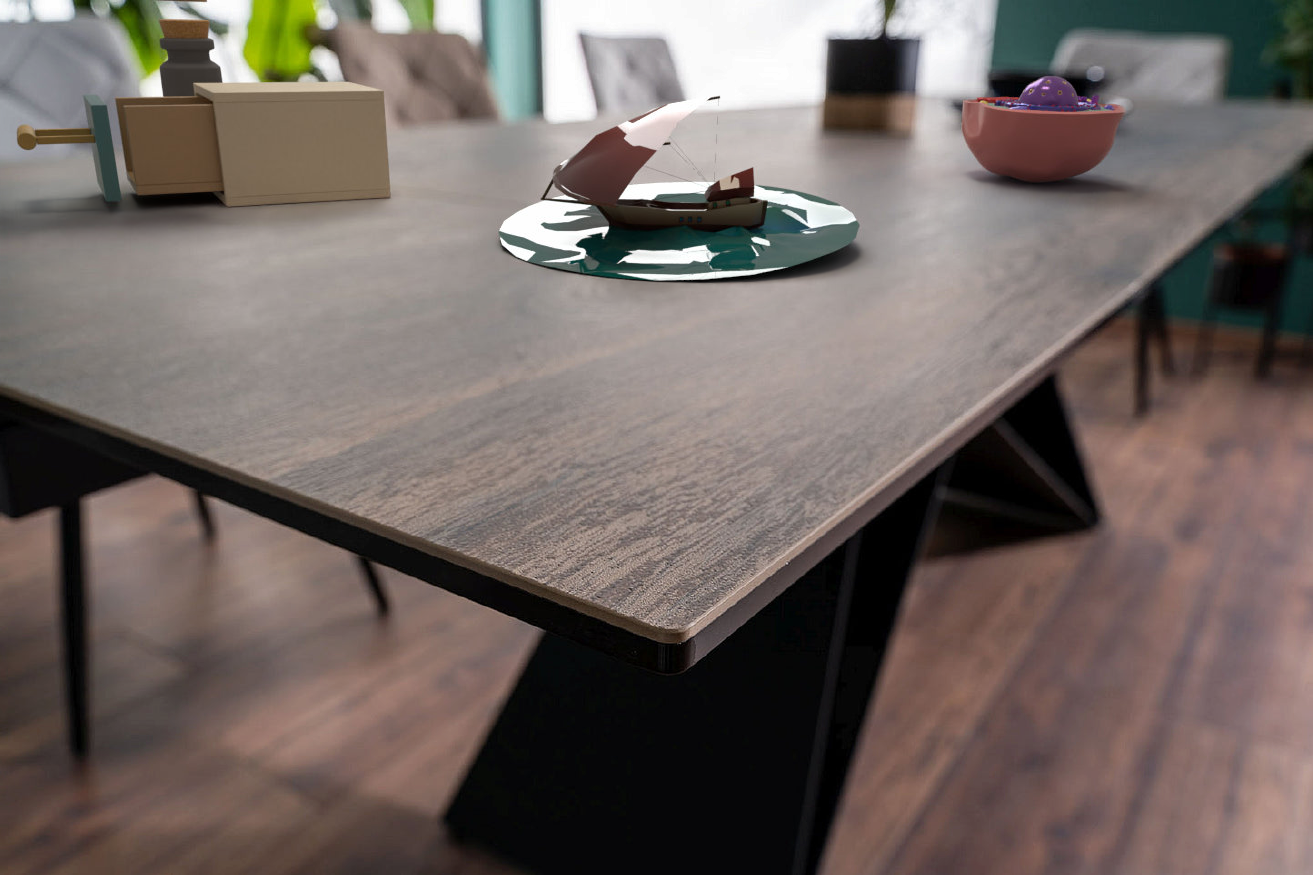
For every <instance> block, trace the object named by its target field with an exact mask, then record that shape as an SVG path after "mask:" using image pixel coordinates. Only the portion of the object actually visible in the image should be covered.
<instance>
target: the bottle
mask: <svg viewBox="0 0 1313 875" xmlns="http://www.w3.org/2000/svg"><path fill="white" fill-rule="evenodd" d="M158 23H159V25H160V29H161V31H162V34H163V37H162V38H159V47H160V49H161V50H165V51H166V54H167V60H165V61H164V62H162V63H161V64H160V65H159V75H160V76H159V77H160V84H161V91H162V97H179V96H195V94H194V87H193V83H224V81H223V75H222V74H223V73H222V69H221V66H220V65H219V64H218V63H216V62H215V61H213V60H212V59H211V55H210V52H211V51H213V50H215V41H214V40H215V39H212V38H209V32H210V20H208V19H187V18H186V19H183V18H181V19H180V18H161V19H158Z"/></svg>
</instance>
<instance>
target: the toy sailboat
mask: <svg viewBox="0 0 1313 875" xmlns="http://www.w3.org/2000/svg"><path fill="white" fill-rule="evenodd" d="M720 99H721V95H717V96H706V97H700V98H693V99H689V100H683V101H677V102H672V103H667V104H664V105H661V106H658V107H654V108H652V109H649V110H647V111H646V112H644V113H642V114H640V115H638V116H636V117H634V118H631V119H629V120H627V121H625V122H622V123H620V124H618V125H615V126H613V127H611V128H609V129H607V130H605V131H603V132H600V133H597V134H596V135H594V136H593V137H592V139H591V140H589V141H588V142H587V143H586V144H585V146H583V147H582V148H581V149H579V151H577V152H576V153H575V154H574V155H572V156H571V157H569V158H568V159H565V160H564V161H562V162H561V163H560V164H559V165H557V166H556V167H555V168H554V169H553V172H552V178H551V180H550V182H549V184H548V186H547V187H546V189H545V191H544V192H543V195H542V196H541V197H540V201H539V202H536V203H534V204H531V205H528V206H527V207H525V208H524V207H523V209H520V210H518V211H517V212H515V213H513V214H512V215H511V216H510V217H508V218H506V219H505V220H503V223H502V224H501V227H500V228H499V231H498V236H499V238H500V242H501V245H502V246H503V247H504V248H505V249H507V250H508V251H509V252H510V253H511V254H512V255H513V256H515V257H516V258H519V259H521V260H524V261H526V262H529V263H532V264H536V265H540V266H545V267H549V268H555V269H559V270H565V271H570V272H576V273H579V274H580V273H581V274H587V275H593V276H600V277H606V278H617V279H630V280H643V281H684V280H685V281H690V280H691V281H693V280H710V279H722V278H732V277H741V276H752V275H757V274H762V273H766V272H772V271H775V270H776V271H777V270H781V269H785V268H790V267H794V266H796V265H800V264H804V263H806V262H810V261H813V260H815V259H818V258H821V257H823V256H826V255H828V254H829V255H830V254H831V253H834V252H836V251H839V250H841V249H842V248H844V247H846V246H848V245H850V244H851V243H852V242H853V241H854V240H855V239H857V235H858V231H859V230H860V229H859V228H860V223H859V222H858V220H857V218H856V216H855V215H854V213H853V212H851V211H850V210H848V209H847V208H845V207H844V206H842V205H841V204H839V203H838V202H835V201H832V200H829V199H826V198H824V197H820V196H817V195H814V194H810V193H807V192H803V191H799V190H793V189H788V188H782V187H777V186H771V185H770V186H769V185H761V184H759V185H758V184H755V174H754V173H755V172H754V167H753V166H751V167H750V168H747V169H745V170H742V171H739V172H736V173H734V174H731V175H728V176H726V177H723V178H721V179H719V180H717V181H713V182H712V181H707V180H706V178H705V177H703V180H704V181H689V180H687V179H683V178H681V177H677V176H676V175H673V174H669V173H666V172H664V171H661V170H657V169H655V168H652V167H650V166H645V165H646V164H647V162H648V161H649V160H650V159H651V158H653V156H654V155H655V154H656V152H658V151H659V149H660V148H661V147H662V146H670V147H671V148H672V149H673V150H674V151H675V152H676V153H677V154H678V155H679V156H680V157H681V158H682V159H683V161H685V162H687V160H686V159H685V158H684V157H683V156H681V155H680V153H679V152H678V151H676V149H675V148H674V147H673V146H672V145H671V144H672V143H671V141H667V140H668V139H669V138H670V139H671V140H672V141H674V140H673V139H672V137H670V135H671V134H672V133H673V131H674V129H675V128H676V127H677V125H678V124H679V123H680V122H681V121H682V120H684V119H685V118H686V117H687V116H689V115H690V114H691V113H693V111H695V110H696V109H698V108H699V107H700V106H701V105H703V104H704V103H705V102H707V101H714V100H718V103H717V105H719V102H720ZM718 119H719V117H717V120H716V121H717V122H716V124H718V121H719V120H718ZM717 136H718V135H716V138H715V142H716V143H717V142H718V141H717V139H718V137H717ZM675 145H676V146H678V145H677V143H675ZM679 150H680V151H681V152H683V151H682V149H681V148H679ZM714 155H715V157H714V162H716V159H717V158H716V157H717V154H714ZM684 156H686V154H684ZM686 158H688V157H687V156H686ZM689 161H690V162H691V164H693V162H692V161H691V160H689ZM643 167H645V168H648V169H651V170H655V171H657V172H660V173H664V174H666V175H668V176H671V177H675V178H678V179H681V180H684V181H678V182H677V181H676V182H652V183H640V184H639V183H638V184H637V183H636V184H630V183H631V182H632V181H633V179H634V178H635V176H636V175H637V173H638V172H639V171H640V170H641V169H642V168H643ZM694 167H695V169H697V167H696V166H694ZM699 173H700V174H699ZM698 174H699V175H702V173H701V172H700V171H698ZM713 175H714V176H713V177H714V179H713V180H715V179H716V178H715V176H716V173H714V174H713ZM553 185H554V188H556V189H557V190H558V191H559V192H561V193H562V194H563V195H560V196H555V197H552V198H550V197H547V196H548V194H549V192H550V190H551V188H552V187H553Z"/></svg>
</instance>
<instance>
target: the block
mask: <svg viewBox="0 0 1313 875" xmlns="http://www.w3.org/2000/svg"><path fill="white" fill-rule="evenodd" d="M156 1H159V2H160V1H161V2H186V3H187V2H189V3H191V2H192V3H207V2H208V0H156Z"/></svg>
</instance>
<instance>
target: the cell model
mask: <svg viewBox="0 0 1313 875" xmlns="http://www.w3.org/2000/svg"><path fill="white" fill-rule="evenodd" d="M1099 98H1100V95H1099V94H1095V95H1093V96H1092V97H1091V99H1090V98H1088V97H1087V96H1080V95H1078V94H1077V92H1076V90H1075V88H1074V86H1073V85H1072V84H1071V83H1070V82H1069V81H1067V79H1065V78H1063V77H1061V76H1056V75H1054V76H1053V75H1052V76H1051V75H1046V76H1042V77H1039V78H1038V79H1037V80H1035V81H1032V82H1030V83H1028V85H1026V86H1025V88H1024V89H1023V91H1022V93H1021V94H1020V96H1019V97H1017V96H1016V97H1014V96H1013V97H1012V96H1011V97H1009V96H998V97H997V96H995V97H994V96H992V97H991V96H990V97H989V96H988V97H985V96H983V97H982V96H981V97H976V98H973V99H969V98H968V99H963V101H962V112H961V121H960V122H961V123H960V124H961V134H962V136H963V139H964V142H965V144H966V146H967V148H968V149H969V151H970V152H971V153H972V155H973V157H975V160H976V161H977V162H978V163H979V165H980V166H981V167H982V168H983V169H985V170H986V171H988V172H990V173H991V174H994V175H997V176H1001V177H1005V178H1006V177H1007V178H1014V179H1017V180H1020V181H1022V182H1027V183H1034V184H1038V183H1052V182H1060V181H1063V180H1066V179H1070V178H1075V177H1078V176H1080V175H1082V174H1085V173H1087V172H1089V171H1091V170H1093V169H1094V168H1096V167H1097V166H1099V164H1100V163H1102V162H1103V161H1104V160H1105V158H1106V157H1107V156H1108V155H1109V154H1110V152H1111V150H1112V148H1113V146H1114V144H1115V139H1116V134H1117V130H1118V128H1119V125H1120V124H1121V121H1122V119H1123V118H1124V116H1125V115H1126V113H1127V112H1126V109H1125V107H1124V106H1123V105H1120V104H1115V103H1099Z"/></svg>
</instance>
